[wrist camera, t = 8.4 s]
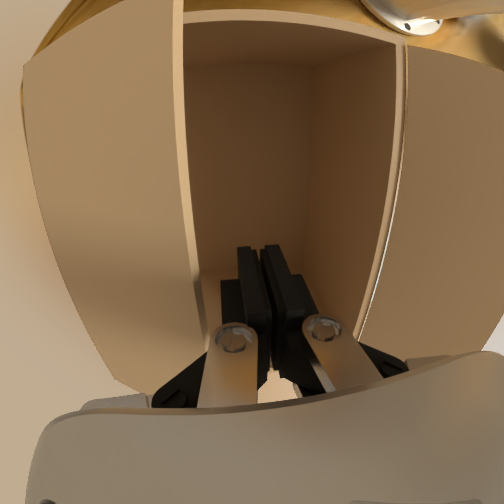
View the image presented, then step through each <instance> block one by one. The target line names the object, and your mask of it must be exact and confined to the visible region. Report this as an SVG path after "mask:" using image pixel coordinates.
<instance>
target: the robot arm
mask: <svg viewBox="0 0 504 504" xmlns="http://www.w3.org/2000/svg"><path fill="white" fill-rule="evenodd" d="M360 1H361V2H362V3H363V4H364V5H365V7H366V8H367V9H368V10H369V11H370V12H371V13H372V14H373V15H374V16H375V17H377V18H378V19H379V20H380V21H382V22H383V23H384V24H386V25H387V26H389V27H390V28H392V29H394V30H396V31H398V32H400V33H403V34H405V35H410V36H418V37H421V36H427V35H431V34H433V33H435V32H436V31H437V30H438V29H439V28H440V27H441V25H442V21H443V19H448V18H454V17H462V16H471V15H482V14H501V13H504V0H360ZM237 263H238V279H228V280H220V288H221V313H222V325H221V326H219V327H218V328H216V329H215V330H214V331H213V332H212V334H211V337H210V341H209V346H208V351H207V352H205V353H204V354H203V355H202V356H200V357H199V358H198V359H197V360H195V361H194V362H193V363H192V364H190V365H189V366H188V367H186V368H185V369H184V370H183V371H181V372H180V373H179V374H177V375H176V376H175V377H174V378H172V379H171V380H170V381H168V382H167V383H166V384H164V385H163V386H162V387H160V388H159V389H158V390H157V391H156V392H155V394H152V395H146V394H145V393H140V394H134V395H127V396H120V397H113V398H104V399H95V400H91V401H88V402H87V403H85V404H84V405H83V406H82V408H81V409H80V410H79V411H75V412H71V413H67V414H64V415H62V416H59V417H57V418H55V419H54V420H52V421H51V422H50V423H49V424H48V425H47V426H46V427H45V429H44V430H43V432H42V434H41V436H40V438H39V441H38V443H37V446H36V449H35V452H34V455H33V459H32V462H31V467H30V472H29V477H28V483H27V489H26V499H25V504H504V356H503V355H501V354H499V353H496V352H492V351H474V352H467V353H463V354H458V355H454V356H450V355H441V356H431V357H421V358H409V359H406V360H405V361H404V362H403V361H402V360H400V359H398V358H397V357H394V356H392V355H389V354H387V353H385V352H382V351H380V350H377V349H375V348H372V347H370V346H368V345H365V344H363V343H361V342H358V341H357V340H356V339H355V338H354V336H353V335H352V334H351V332H350V331H349V330H348V328H347V327H346V325H345V324H344V323H343V322H342V321H341V320H340V319H339V318H337V317H335V316H333V315H330V314H322V313H321V314H319V311H318V309H317V307H316V305H315V303H314V300H313V298H312V296H311V294H310V292H309V289H308V287H307V285H306V283H305V281H304V278H303V276H302V275H301V274H292V275H291V272H290V270H289V268H288V265H287V263H286V260H285V258H284V256H283V253H282V251H281V248H280V246H279V244H274V245H265V247H264V249H260V262H259V258H258V255H257V251H256V249H252V250H251V246H243V247H237ZM270 357H271V362H272V367H273V370H274V371H279V375H280V378H286V379H288V380H289V381H291V382H293V388H294V391H295V393H296V395H297V397H298V398H297V399H290V400H283V401H276V402H268V403H260V404H257V400H258V399H257V398H258V389H259V388H260V387H261V386H262V385H263V384H264V383H265V382H266V381H267V372H269V371H270Z"/></svg>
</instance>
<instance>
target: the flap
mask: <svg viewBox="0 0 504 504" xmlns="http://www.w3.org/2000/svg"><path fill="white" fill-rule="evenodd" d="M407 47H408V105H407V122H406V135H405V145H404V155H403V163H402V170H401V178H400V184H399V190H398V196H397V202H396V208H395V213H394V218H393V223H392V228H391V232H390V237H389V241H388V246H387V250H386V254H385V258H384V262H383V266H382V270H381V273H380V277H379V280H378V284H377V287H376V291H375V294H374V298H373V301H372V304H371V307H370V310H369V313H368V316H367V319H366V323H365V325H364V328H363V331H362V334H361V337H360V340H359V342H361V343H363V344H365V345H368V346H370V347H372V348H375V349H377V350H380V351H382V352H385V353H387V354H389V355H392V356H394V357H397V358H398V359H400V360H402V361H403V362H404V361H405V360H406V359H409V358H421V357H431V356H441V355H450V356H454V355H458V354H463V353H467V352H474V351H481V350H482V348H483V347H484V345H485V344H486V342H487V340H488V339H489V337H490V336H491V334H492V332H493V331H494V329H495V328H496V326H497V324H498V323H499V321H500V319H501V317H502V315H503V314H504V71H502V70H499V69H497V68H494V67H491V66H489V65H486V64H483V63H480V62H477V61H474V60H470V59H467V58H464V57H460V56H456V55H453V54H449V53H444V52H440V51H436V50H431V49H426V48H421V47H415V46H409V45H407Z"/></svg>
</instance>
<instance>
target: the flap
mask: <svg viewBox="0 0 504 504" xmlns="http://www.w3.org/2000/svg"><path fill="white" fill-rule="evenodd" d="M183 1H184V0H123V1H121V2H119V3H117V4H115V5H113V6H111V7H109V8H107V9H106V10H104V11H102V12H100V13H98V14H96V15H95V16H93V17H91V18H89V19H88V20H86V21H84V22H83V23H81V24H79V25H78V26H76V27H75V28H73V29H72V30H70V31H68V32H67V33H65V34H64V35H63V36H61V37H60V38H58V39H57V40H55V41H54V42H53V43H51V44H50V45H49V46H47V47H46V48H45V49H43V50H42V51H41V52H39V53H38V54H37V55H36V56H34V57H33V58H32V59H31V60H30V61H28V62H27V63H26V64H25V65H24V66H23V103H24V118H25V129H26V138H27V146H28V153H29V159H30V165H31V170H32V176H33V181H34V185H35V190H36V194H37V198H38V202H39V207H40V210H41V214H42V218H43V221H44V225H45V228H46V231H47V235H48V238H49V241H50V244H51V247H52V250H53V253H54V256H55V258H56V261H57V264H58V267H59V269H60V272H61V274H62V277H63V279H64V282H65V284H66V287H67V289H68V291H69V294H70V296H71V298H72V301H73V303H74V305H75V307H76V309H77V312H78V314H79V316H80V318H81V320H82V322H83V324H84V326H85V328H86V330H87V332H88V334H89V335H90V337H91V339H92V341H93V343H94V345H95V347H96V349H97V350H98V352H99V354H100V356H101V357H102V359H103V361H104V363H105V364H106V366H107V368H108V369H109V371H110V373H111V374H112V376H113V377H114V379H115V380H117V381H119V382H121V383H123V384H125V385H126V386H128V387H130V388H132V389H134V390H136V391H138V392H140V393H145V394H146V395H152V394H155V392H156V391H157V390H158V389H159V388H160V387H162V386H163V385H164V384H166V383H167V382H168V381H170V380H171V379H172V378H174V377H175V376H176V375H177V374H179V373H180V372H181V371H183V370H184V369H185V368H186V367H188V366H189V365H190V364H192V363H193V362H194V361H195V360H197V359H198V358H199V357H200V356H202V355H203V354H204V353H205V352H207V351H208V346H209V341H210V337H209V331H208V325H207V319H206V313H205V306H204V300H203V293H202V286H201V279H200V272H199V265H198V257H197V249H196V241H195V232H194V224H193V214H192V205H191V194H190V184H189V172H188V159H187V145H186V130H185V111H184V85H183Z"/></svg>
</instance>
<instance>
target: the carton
mask: <svg viewBox="0 0 504 504" xmlns="http://www.w3.org/2000/svg"><path fill="white" fill-rule="evenodd" d="M35 56H36V55H35ZM183 85H184V111H185V130H186V145H187V159H188V172H189V184H190V194H191V205H192V214H193V224H194V232H195V241H196V249H197V257H198V265H199V272H200V279H201V286H202V293H203V300H204V306H205V313H206V319H207V325H208V331H209V337H211V334H212V332H213V331H214V330H215V329H216V328H218V327H219V326H221V325H222V313H221V288H220V280H228V279H238V263H237V247H243V246H251V250H252V249H256V251H257V255H258V258H259V262H260V249H264V247H265V245H274V244H279V246H280V248H281V251H282V253H283V256H284V258H285V260H286V263H287V265H288V268H289V270H290V272H291V275H292V274H301V275H302V276H303V278H304V281H305V283H306V285H307V287H308V289H309V292H310V294H311V296H312V298H313V300H314V303H315V305H316V307H317V309H318V311H319V314H321V313H322V314H330V315H333V316H335V317H337V318H339V319H340V320H341V321H342V322H343V323H344V324H345V325H346V327H347V328H348V330H349V331H350V332H351V334H352V335H353V336H354V338H355V339H356V340H358V338H359V335H360V332H361V329H362V326H363V323H364V320H365V317H366V314H367V311H368V308H369V305H370V301H371V298H372V295H373V291H374V288H375V284H376V281H377V277H378V273H379V270H380V266H381V262H382V258H383V254H384V250H385V245H386V241H387V237H388V232H389V227H390V222H391V217H392V212H393V207H394V201H395V195H396V189H397V183H398V176H399V169H400V161H401V152H402V143H403V132H404V118H405V98H406V54H405V37H403V36H400V35H397V34H394V33H391V32H388V31H384V30H381V29H378V28H374V27H371V26H367V25H363V24H359V23H355V22H351V21H347V20H342V19H337V18H332V17H326V16H320V15H314V14H307V13H299V12H290V11H279V10H262V9H220V10H203V11H192V12H183ZM272 372H279V371H274V370H273V367H272V362H271V357H270V371H269V372H267V373H272Z"/></svg>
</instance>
